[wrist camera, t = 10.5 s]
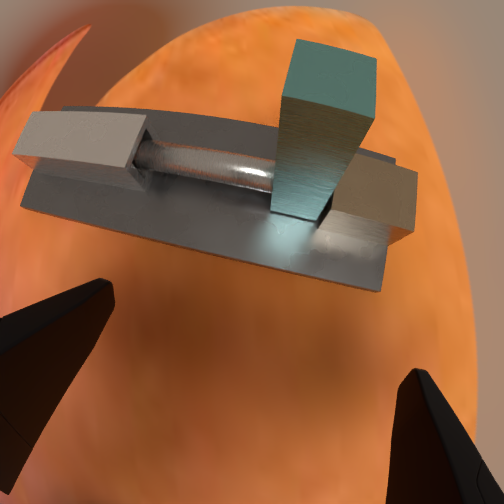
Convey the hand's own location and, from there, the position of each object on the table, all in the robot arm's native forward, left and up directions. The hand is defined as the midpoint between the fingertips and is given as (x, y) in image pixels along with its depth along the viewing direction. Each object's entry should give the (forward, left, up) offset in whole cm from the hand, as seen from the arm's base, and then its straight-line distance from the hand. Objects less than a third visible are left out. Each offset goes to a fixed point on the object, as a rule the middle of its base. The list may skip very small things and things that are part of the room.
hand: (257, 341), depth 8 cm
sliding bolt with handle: (+3, +9, -11) cm, 14 cm away
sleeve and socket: (0, +12, -12) cm, 17 cm away
